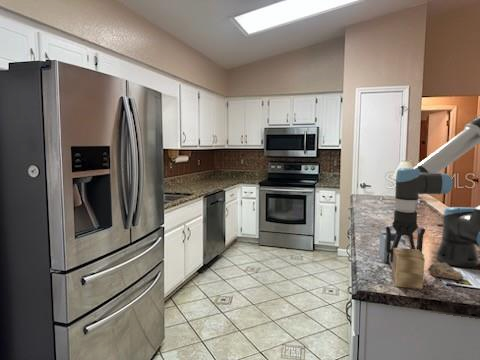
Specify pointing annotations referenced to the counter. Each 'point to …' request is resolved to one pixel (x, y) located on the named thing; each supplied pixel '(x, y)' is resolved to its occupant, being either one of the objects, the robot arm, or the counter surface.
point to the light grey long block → (397, 247)
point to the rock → (444, 271)
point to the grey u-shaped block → (382, 246)
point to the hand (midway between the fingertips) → (402, 271)
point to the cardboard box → (408, 268)
